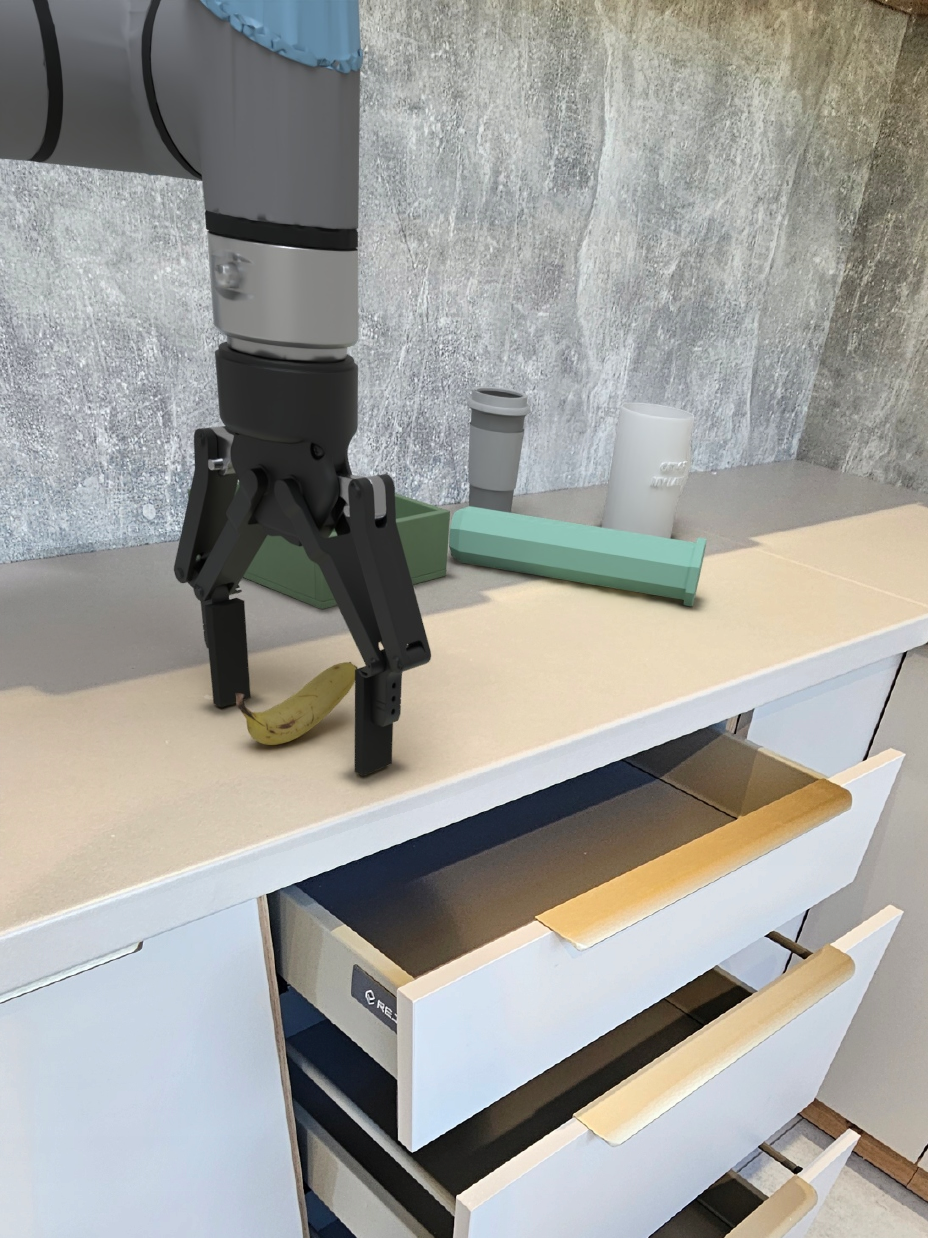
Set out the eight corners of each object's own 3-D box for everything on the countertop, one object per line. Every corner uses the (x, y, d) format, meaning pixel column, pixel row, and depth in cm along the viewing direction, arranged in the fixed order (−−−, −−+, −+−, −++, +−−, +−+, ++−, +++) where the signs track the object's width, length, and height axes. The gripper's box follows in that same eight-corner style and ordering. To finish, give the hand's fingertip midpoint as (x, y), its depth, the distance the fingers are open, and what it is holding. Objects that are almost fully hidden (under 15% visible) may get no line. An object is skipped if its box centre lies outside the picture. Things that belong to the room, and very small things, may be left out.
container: (447, 491, 95) (706, 532, 92) (460, 505, 101) (706, 544, 98) (437, 559, 97) (691, 602, 94) (451, 569, 103) (692, 610, 100)
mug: (703, 535, 117) (730, 414, 109) (645, 549, 110) (669, 421, 102) (646, 517, 121) (668, 399, 113) (587, 529, 114) (605, 404, 106)
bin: (193, 557, 92) (187, 489, 89) (322, 531, 103) (321, 468, 99) (322, 609, 86) (321, 538, 82) (446, 576, 96) (450, 511, 92)
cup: (452, 509, 114) (460, 383, 106) (508, 512, 116) (520, 387, 108) (467, 528, 109) (477, 396, 101) (526, 530, 111) (540, 401, 103)
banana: (342, 711, 71) (341, 654, 69) (365, 723, 70) (366, 665, 68) (228, 749, 65) (223, 688, 62) (252, 762, 64) (248, 701, 61)
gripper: (80, 307, 56) (135, 688, 70) (416, 397, 46) (400, 819, 60) (188, 306, 60) (219, 663, 75) (514, 388, 51) (477, 781, 65)
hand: (300, 733), depth 68 cm, fingers open, 13 cm apart
